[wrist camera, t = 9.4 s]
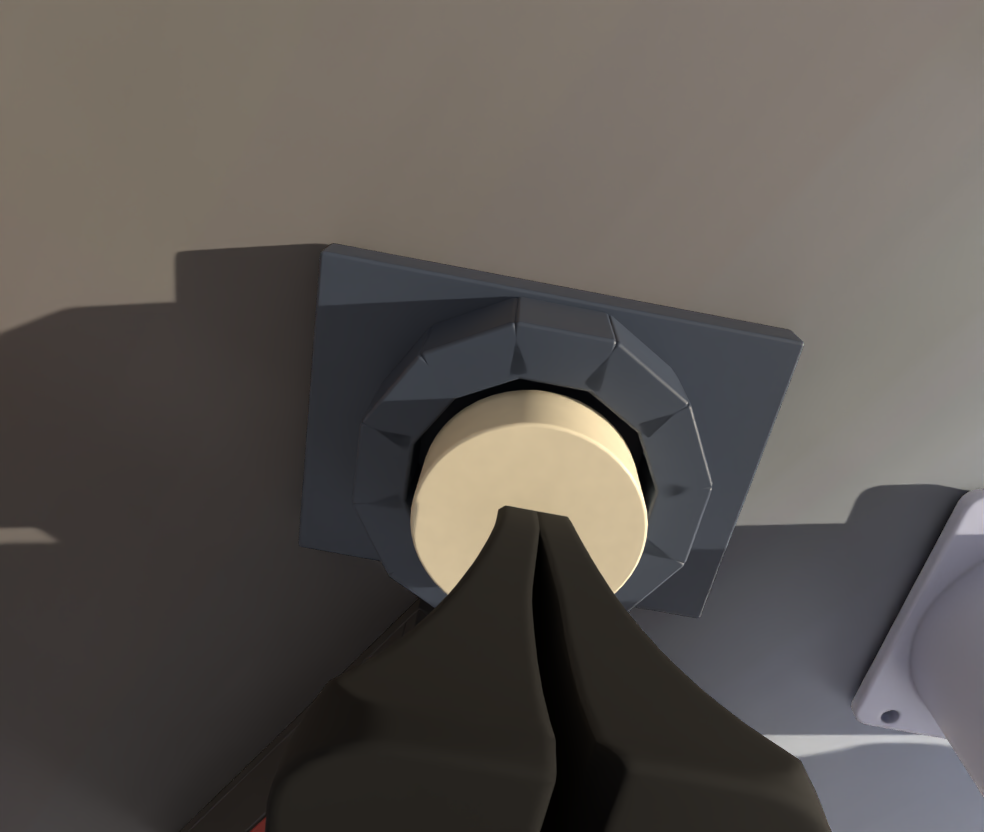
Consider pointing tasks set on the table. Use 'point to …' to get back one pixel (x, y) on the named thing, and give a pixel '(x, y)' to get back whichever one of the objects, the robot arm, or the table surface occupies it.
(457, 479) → the power button
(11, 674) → the table surface
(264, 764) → the black shallow box
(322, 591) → the table surface
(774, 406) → the switch block
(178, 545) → the table surface
